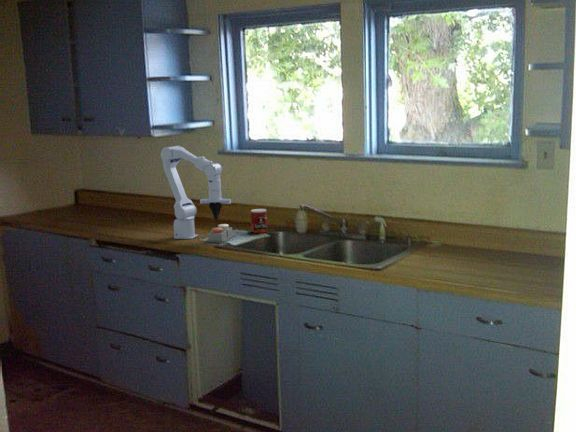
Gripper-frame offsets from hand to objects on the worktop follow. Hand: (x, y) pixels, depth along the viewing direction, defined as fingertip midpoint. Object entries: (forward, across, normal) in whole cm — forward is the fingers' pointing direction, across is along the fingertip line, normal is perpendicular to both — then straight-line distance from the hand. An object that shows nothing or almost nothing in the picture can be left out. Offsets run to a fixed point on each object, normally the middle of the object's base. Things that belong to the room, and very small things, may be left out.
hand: (216, 218), depth 311 cm
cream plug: (+9, 0, -9) cm, 12 cm away
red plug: (+9, 0, 0) cm, 9 cm away
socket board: (+10, 0, -4) cm, 11 cm away
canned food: (+10, -15, -20) cm, 26 cm away
